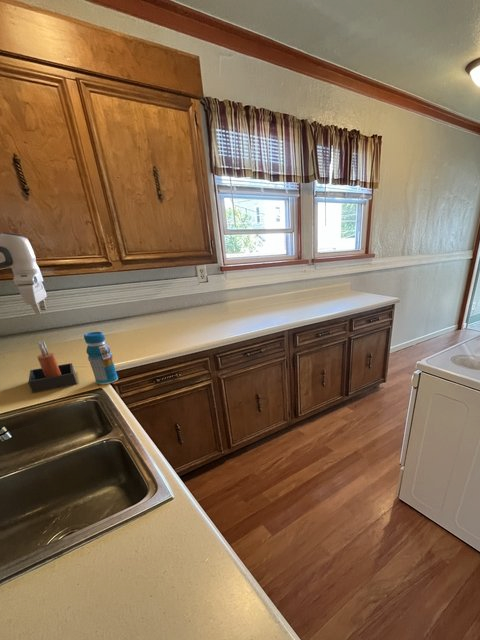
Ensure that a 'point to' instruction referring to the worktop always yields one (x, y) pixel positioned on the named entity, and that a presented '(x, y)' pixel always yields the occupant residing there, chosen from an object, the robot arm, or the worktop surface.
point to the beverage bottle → (100, 358)
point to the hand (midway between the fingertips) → (41, 312)
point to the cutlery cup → (48, 362)
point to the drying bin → (52, 378)
